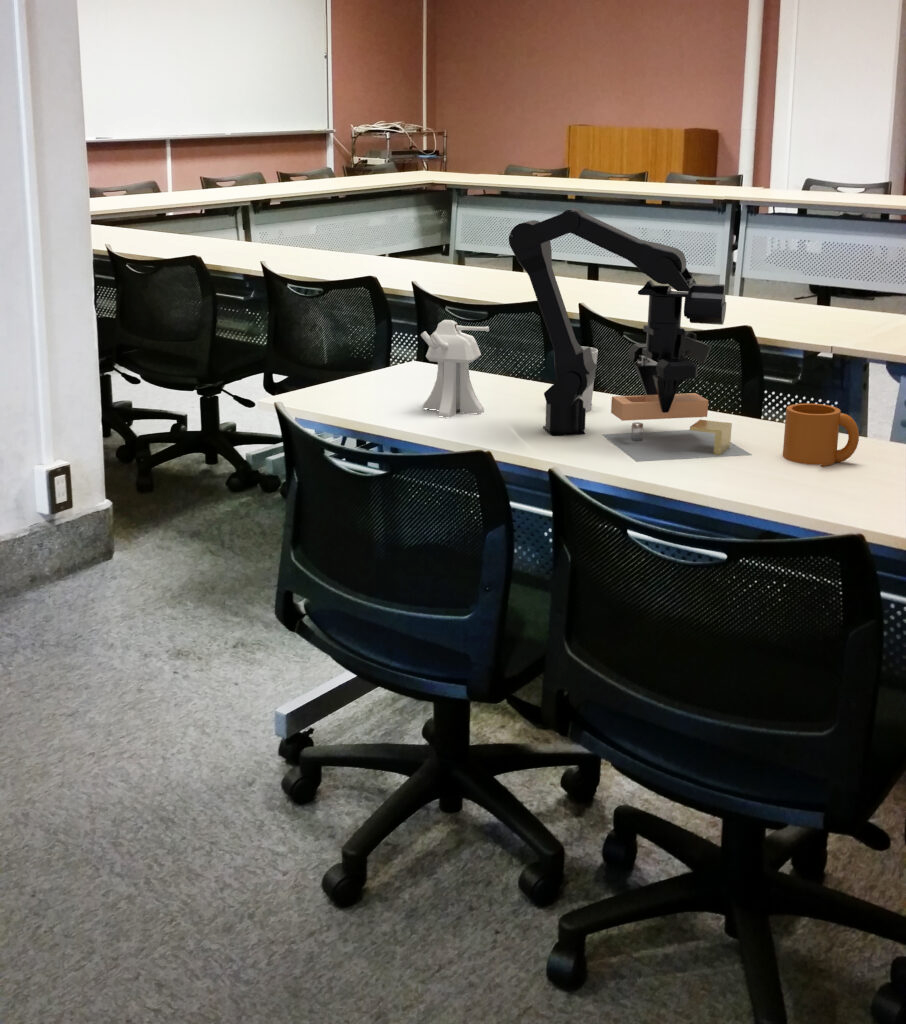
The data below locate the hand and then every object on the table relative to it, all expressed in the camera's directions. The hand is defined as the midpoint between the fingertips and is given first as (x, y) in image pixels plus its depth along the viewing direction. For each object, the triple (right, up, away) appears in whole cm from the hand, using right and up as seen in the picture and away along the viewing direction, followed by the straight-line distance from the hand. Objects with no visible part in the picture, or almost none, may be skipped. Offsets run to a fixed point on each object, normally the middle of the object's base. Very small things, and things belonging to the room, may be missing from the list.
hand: (658, 408), depth 214 cm
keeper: (+7, -8, -5) cm, 12 cm away
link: (0, -1, 0) cm, 1 cm away
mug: (+25, -10, -10) cm, 29 cm away
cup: (-12, +2, +26) cm, 28 cm away
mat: (+2, -7, -2) cm, 8 cm away
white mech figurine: (-36, +1, +24) cm, 43 cm away
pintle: (-4, -6, +1) cm, 7 cm away
